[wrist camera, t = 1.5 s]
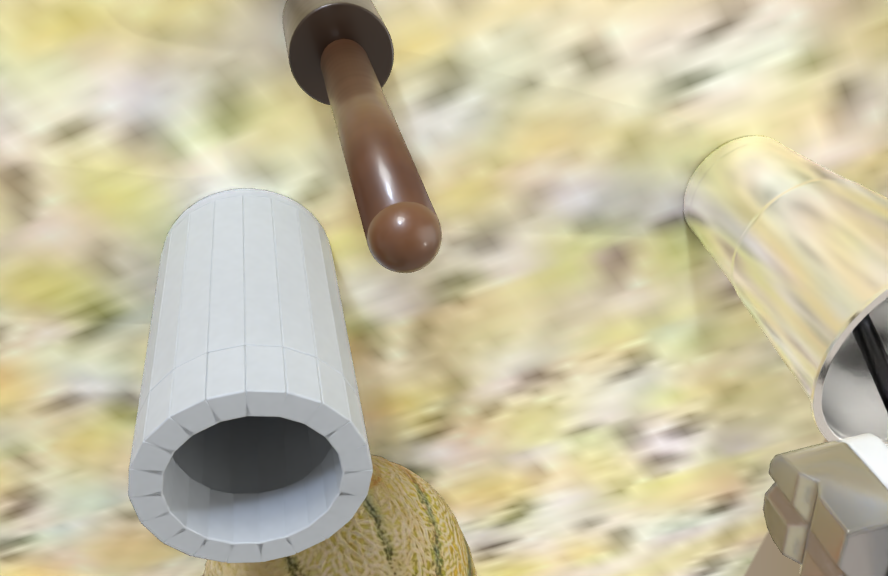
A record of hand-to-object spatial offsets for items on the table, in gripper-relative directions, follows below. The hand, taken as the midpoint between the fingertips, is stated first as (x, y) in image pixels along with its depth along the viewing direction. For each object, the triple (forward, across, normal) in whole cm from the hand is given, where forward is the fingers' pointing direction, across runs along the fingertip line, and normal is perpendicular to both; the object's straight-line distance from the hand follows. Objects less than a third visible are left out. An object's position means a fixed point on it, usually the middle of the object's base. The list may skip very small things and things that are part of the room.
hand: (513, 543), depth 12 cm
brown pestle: (+28, 0, 0) cm, 28 cm away
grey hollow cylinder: (+28, +6, +11) cm, 31 cm away
